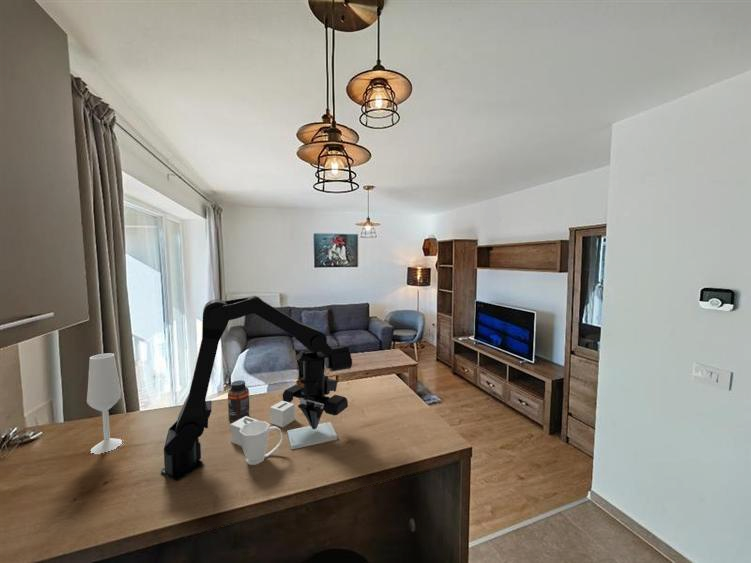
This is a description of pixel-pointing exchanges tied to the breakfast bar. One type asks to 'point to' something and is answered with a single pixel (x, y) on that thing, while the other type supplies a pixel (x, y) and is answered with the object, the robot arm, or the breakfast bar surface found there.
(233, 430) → the block seven
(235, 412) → the supplement bottle
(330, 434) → the hard drive
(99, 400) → the champagne flute
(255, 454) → the cup
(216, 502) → the breakfast bar surface
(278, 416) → the block one
